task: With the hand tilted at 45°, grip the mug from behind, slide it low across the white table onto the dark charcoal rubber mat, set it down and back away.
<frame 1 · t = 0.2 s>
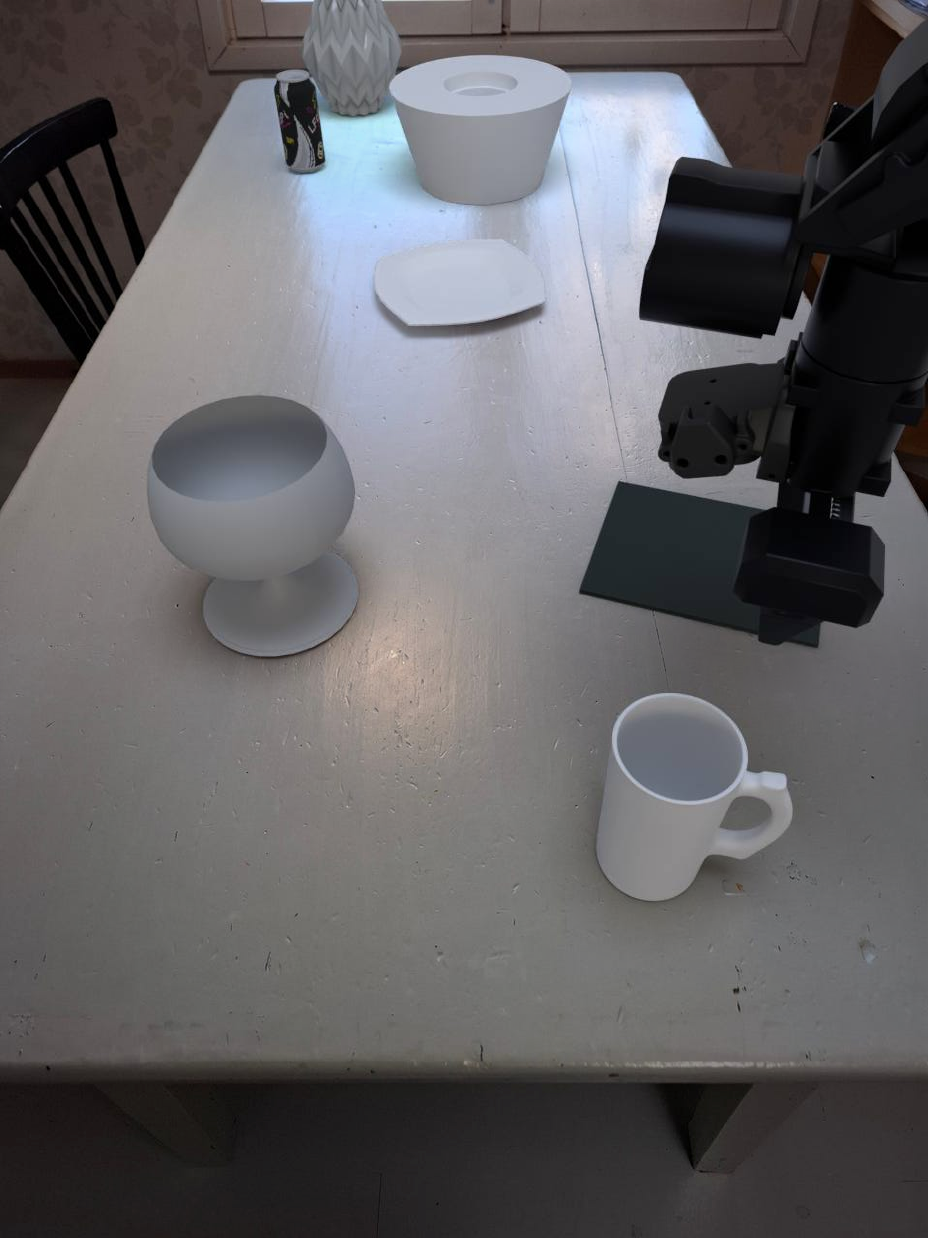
hand: (775, 585, 50), 12 cm above the table, tool pointing down, fingers open, 9 cm apart
plate: (458, 295, 99), on the table
white tapered cylinder: (481, 180, 121), on the table
beverage can: (306, 168, 125), on the table
mat: (708, 558, 69), on the table
chalice: (282, 601, 67), on the table
mug: (673, 861, 52), on the table
vase: (357, 109, 142), on the table
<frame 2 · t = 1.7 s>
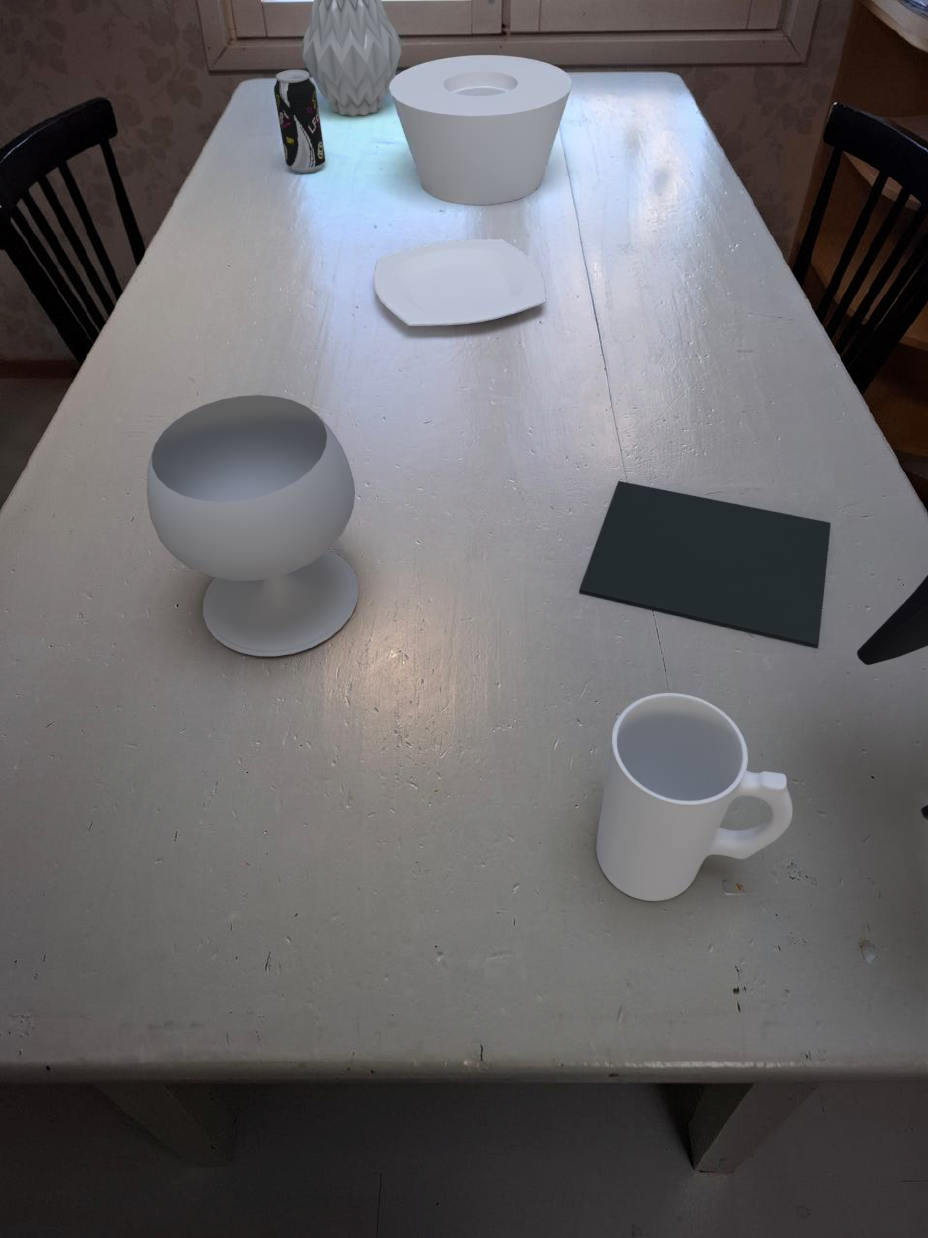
hand: (890, 732, 42), 13 cm above the table, tool tilted 45°, fingers open, 9 cm apart
nothing on the table moved.
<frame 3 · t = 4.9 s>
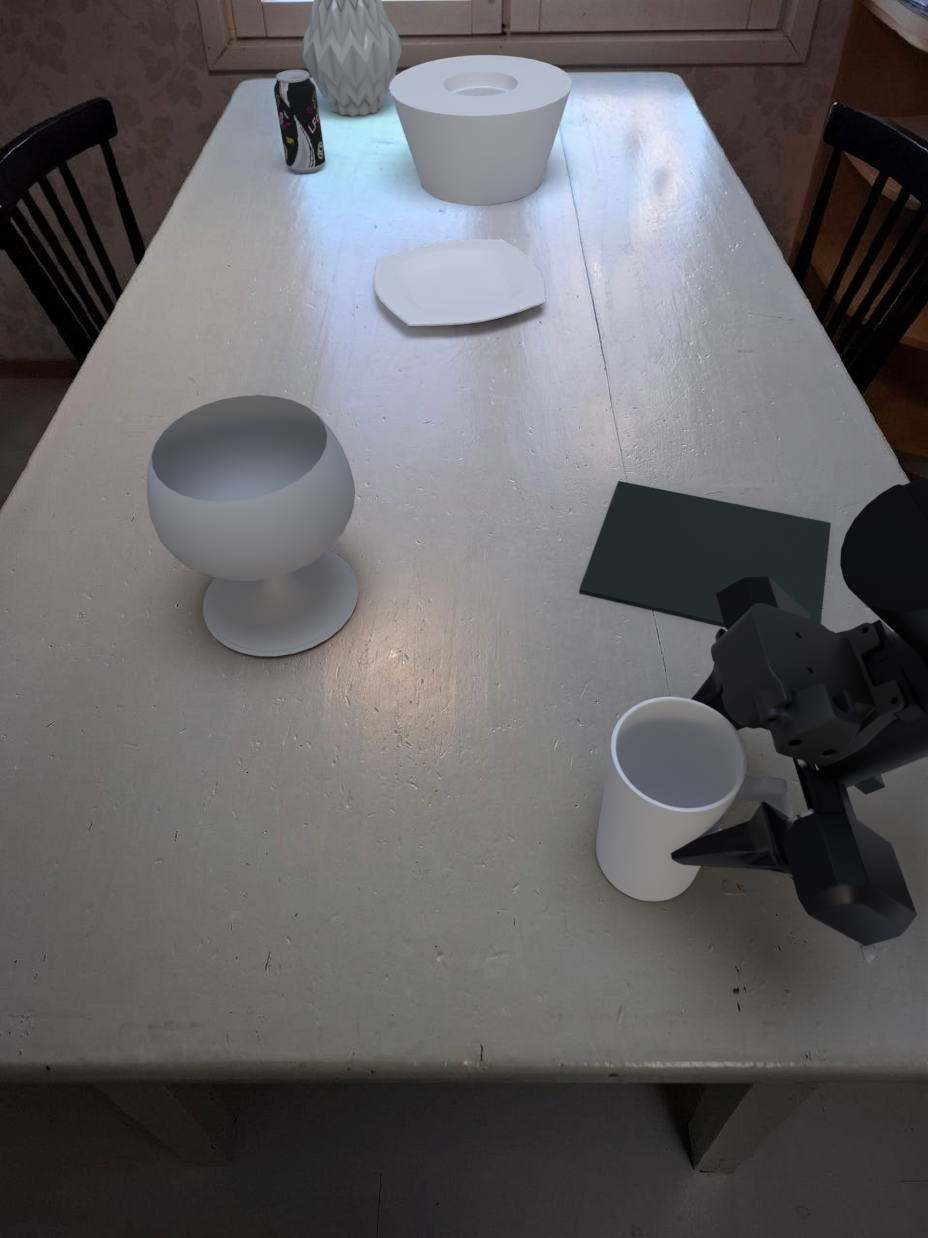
hand: (665, 801, 47), 7 cm above the table, tool tilted 45°, fingers closed on mug, 6 cm apart
mug: (672, 861, 52), on the table, touching gripper
everything else where it was.
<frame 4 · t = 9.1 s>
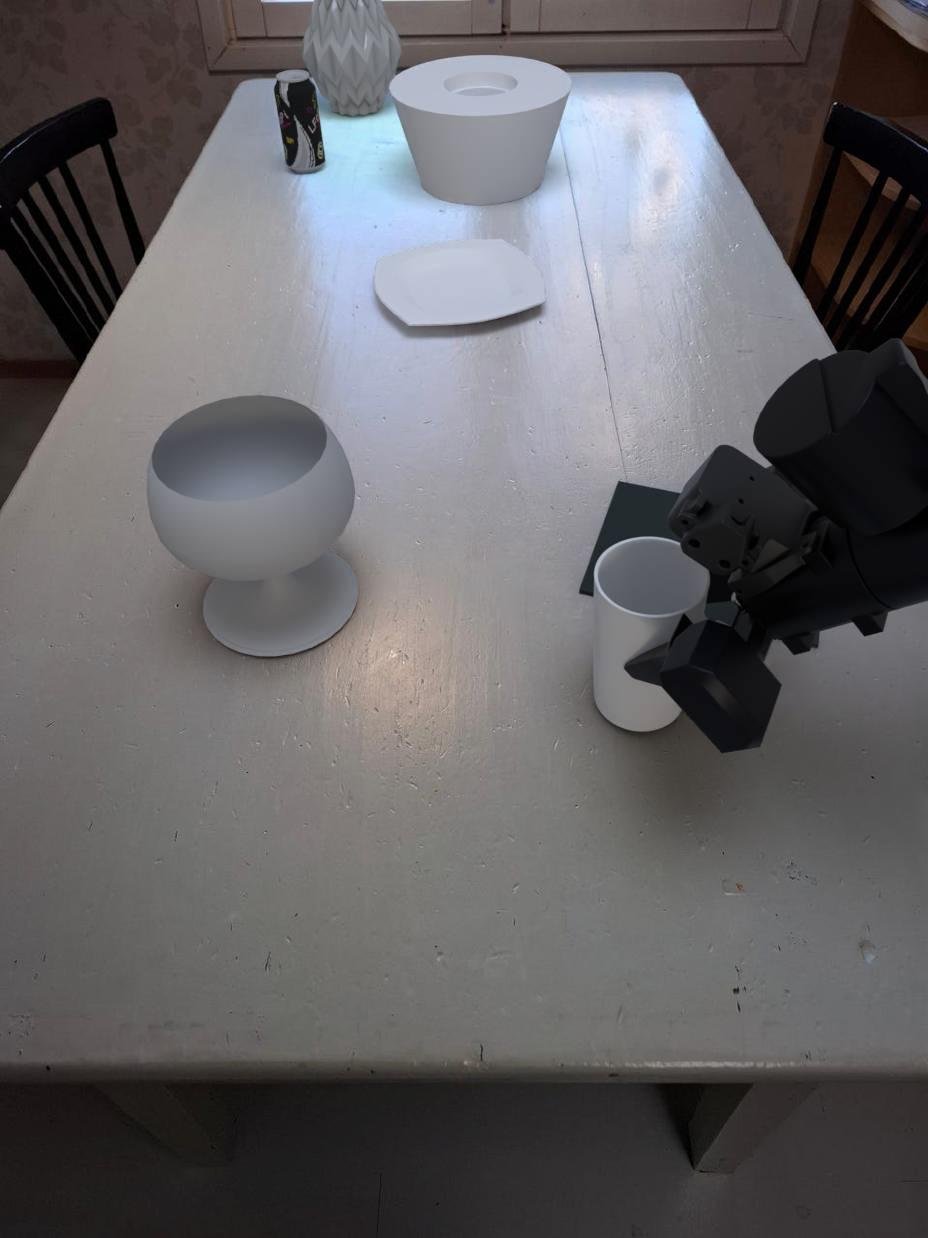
hand: (647, 633, 55), 7 cm above the table, tool tilted 40°, fingers closed on mug, 6 cm apart
mug: (657, 709, 59), point 1 cm above the table, touching gripper
everything else where it was.
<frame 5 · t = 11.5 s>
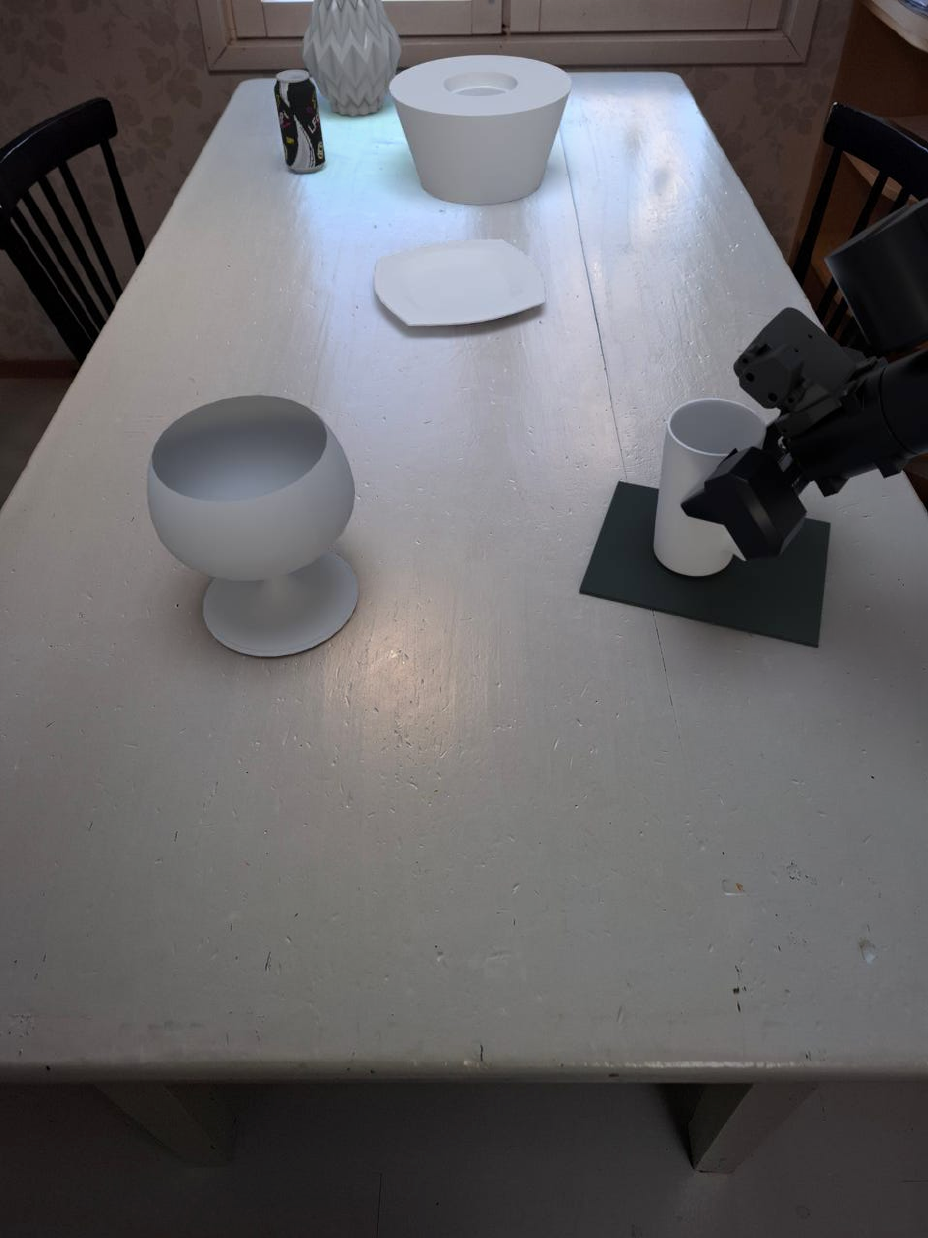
hand: (706, 485, 64), 8 cm above the table, tool tilted 45°, fingers closed on mug, 6 cm apart
mug: (707, 562, 68), point 1 cm above the table, touching gripper
everything else where it was.
when the fingers open (7 cm above the table, at t = 13.2 s): mug stays where it is, resting on mat.
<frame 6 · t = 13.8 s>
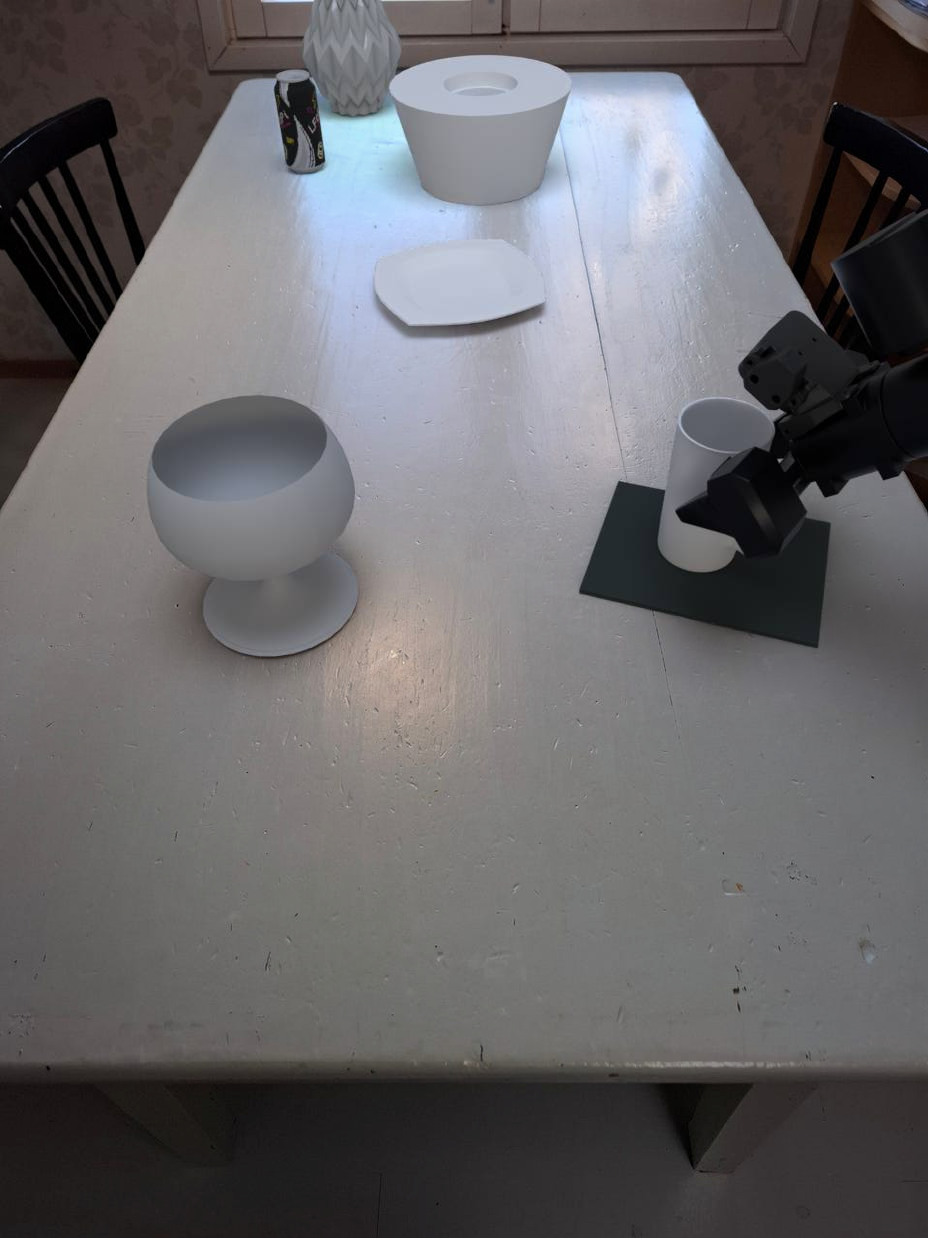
hand: (709, 483, 65), 7 cm above the table, tool tilted 45°, fingers open, 9 cm apart
mug: (710, 559, 69), resting on mat
everything else where it was.
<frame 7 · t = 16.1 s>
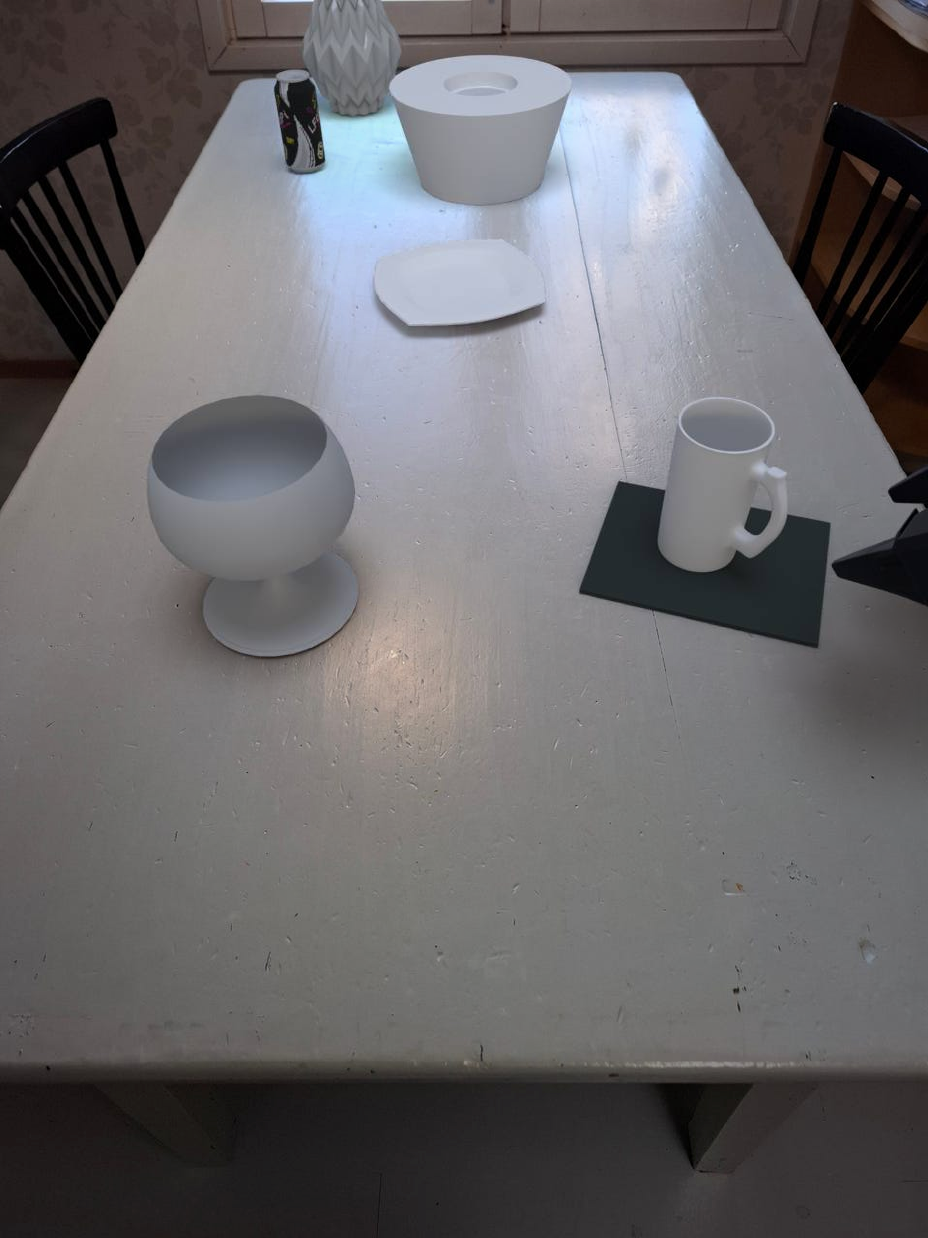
hand: (864, 531, 57), 10 cm above the table, tool tilted 45°, fingers open, 9 cm apart
nothing on the table moved.
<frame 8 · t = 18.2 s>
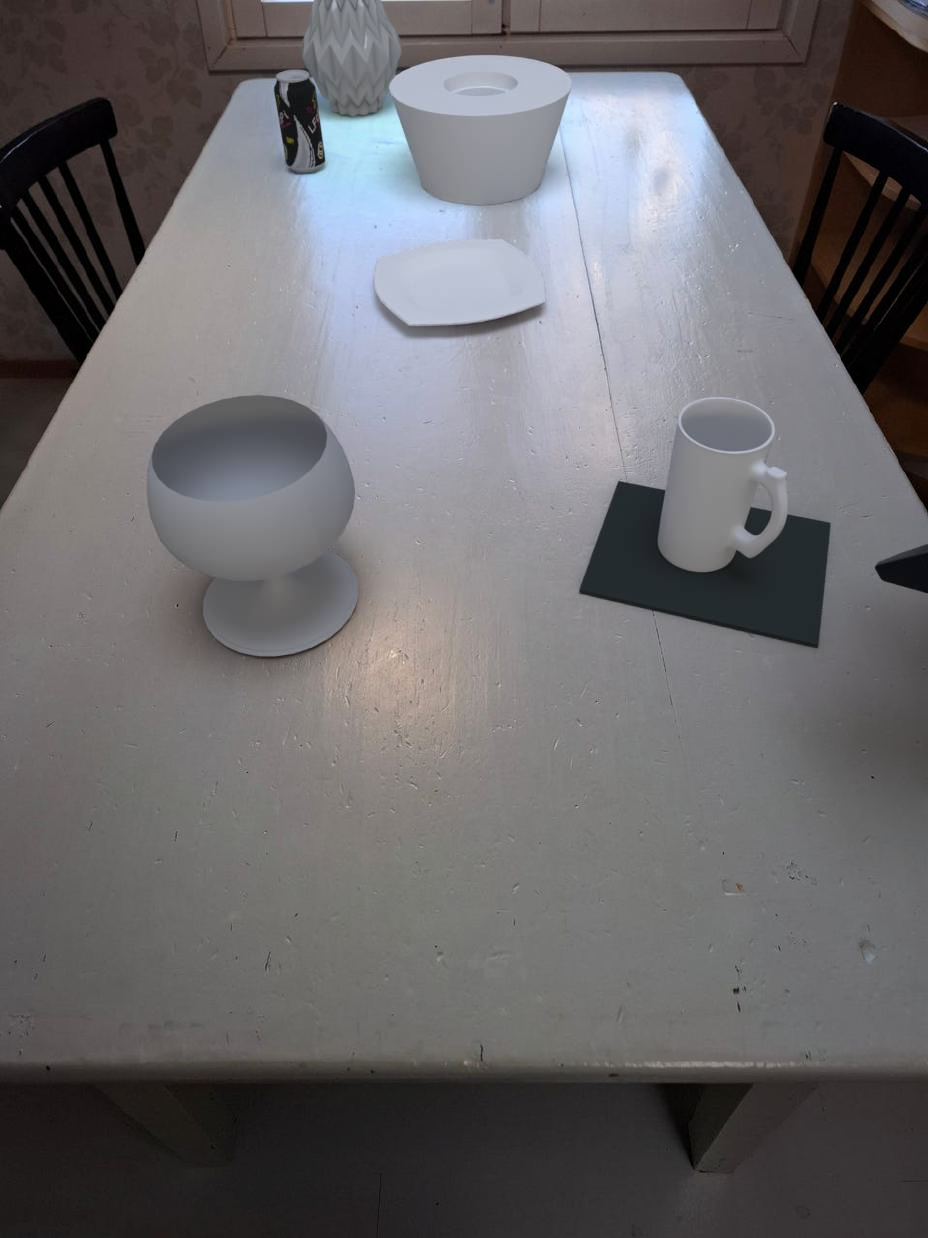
hand: (908, 529, 51), 14 cm above the table, tool tilted 45°, fingers open, 9 cm apart
nothing on the table moved.
at the end: mug inside the target area on the mat (0.4 cm from its centre), point 0.2 cm above the mat's base; mug tilted 0°; the gripper is holding nothing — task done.
